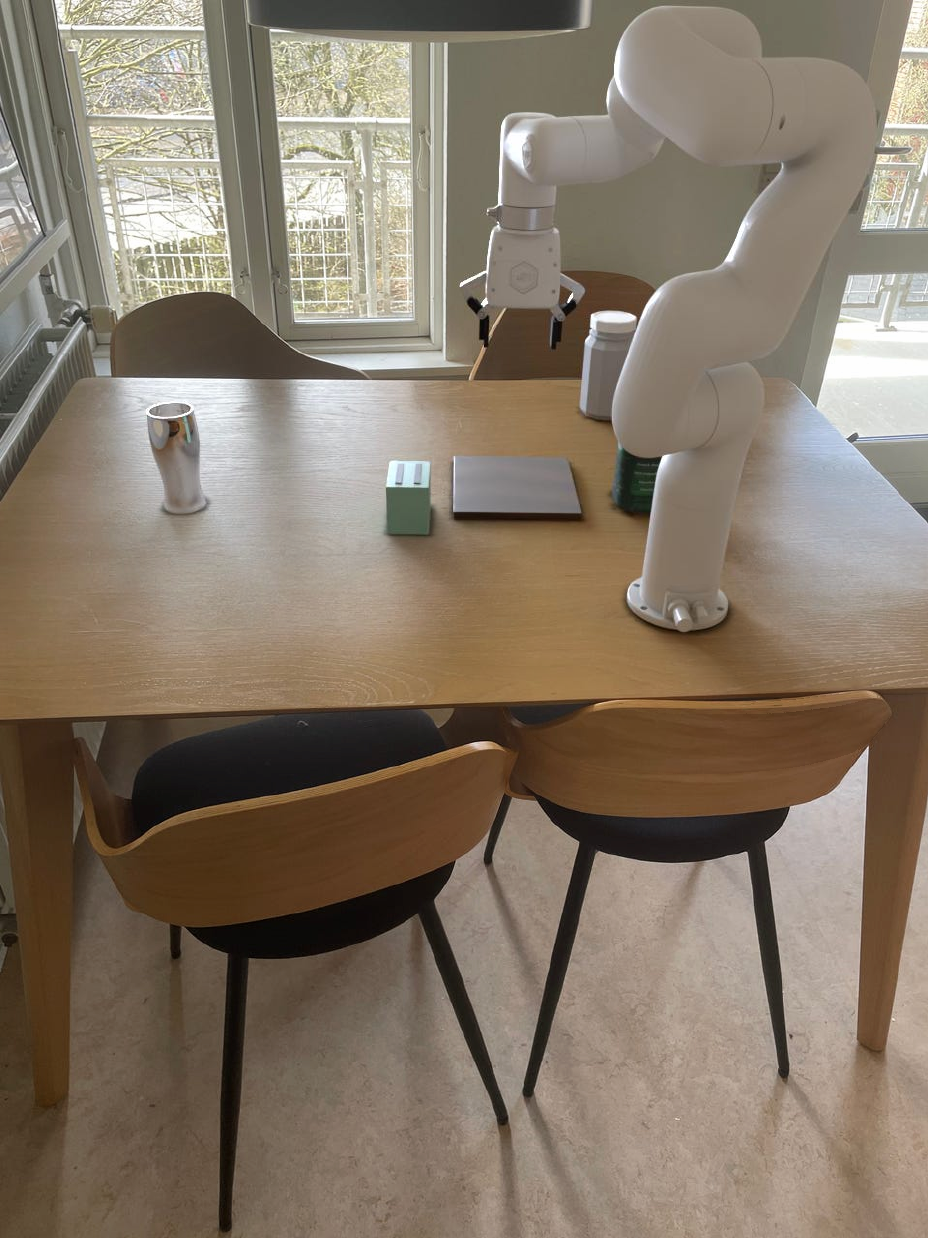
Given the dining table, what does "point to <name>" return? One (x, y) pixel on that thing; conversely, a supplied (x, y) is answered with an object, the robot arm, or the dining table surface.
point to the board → (514, 488)
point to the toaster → (408, 497)
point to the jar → (605, 361)
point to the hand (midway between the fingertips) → (519, 345)
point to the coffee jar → (634, 481)
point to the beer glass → (177, 455)
